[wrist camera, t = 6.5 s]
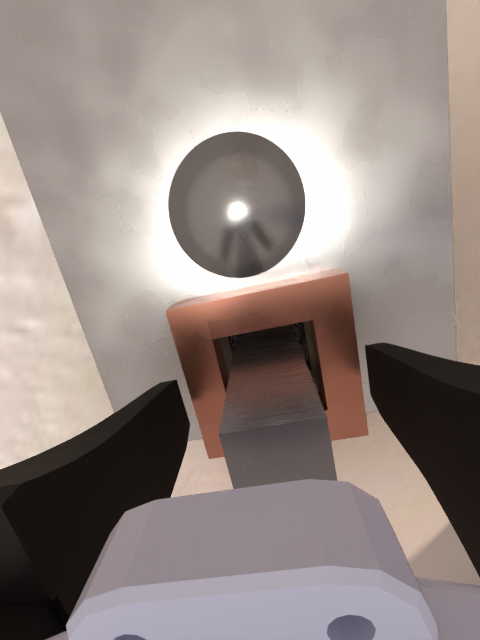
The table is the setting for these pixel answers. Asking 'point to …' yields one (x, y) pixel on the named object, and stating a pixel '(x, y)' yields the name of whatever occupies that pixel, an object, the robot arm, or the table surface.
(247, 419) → the grey rectangular block
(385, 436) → the table surface
